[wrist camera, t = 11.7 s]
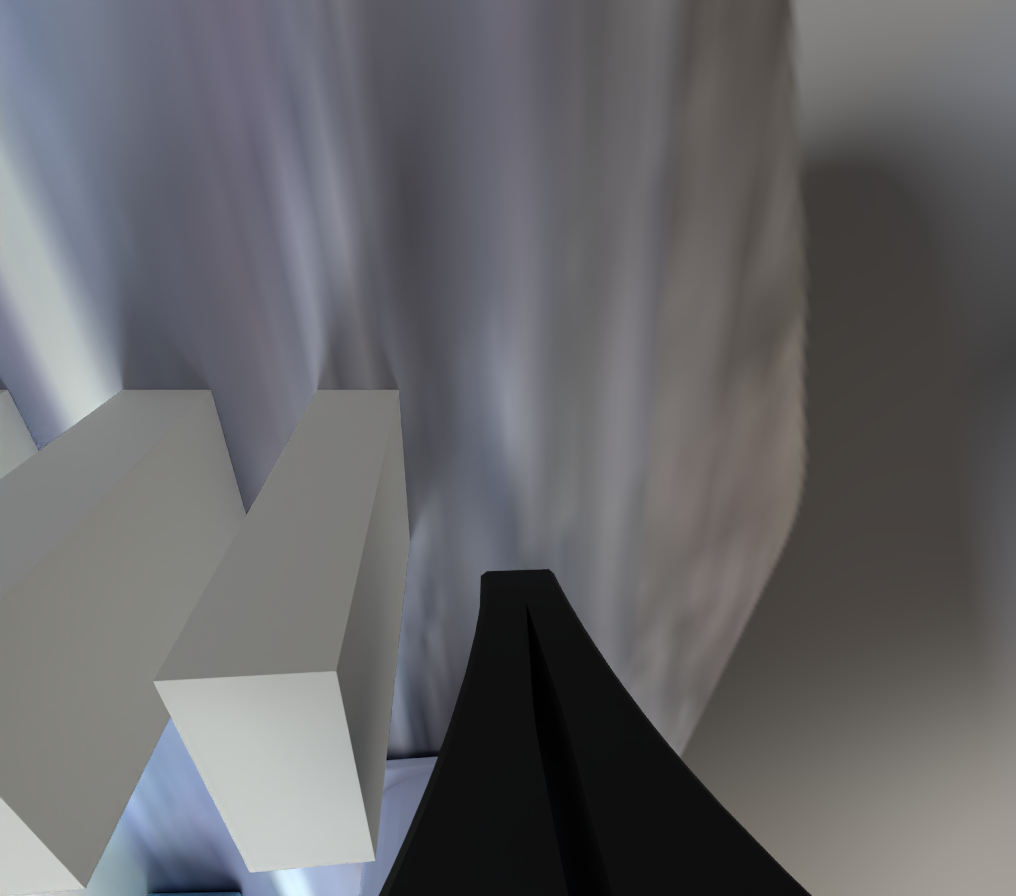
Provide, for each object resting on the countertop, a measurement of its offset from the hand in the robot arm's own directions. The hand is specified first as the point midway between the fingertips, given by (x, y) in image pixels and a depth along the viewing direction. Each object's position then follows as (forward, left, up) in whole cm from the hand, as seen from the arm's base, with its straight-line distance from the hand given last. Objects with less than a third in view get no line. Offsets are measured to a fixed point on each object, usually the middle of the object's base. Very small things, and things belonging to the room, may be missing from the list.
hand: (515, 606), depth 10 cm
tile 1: (0, +3, -5) cm, 6 cm away
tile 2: (0, +8, -5) cm, 9 cm away
